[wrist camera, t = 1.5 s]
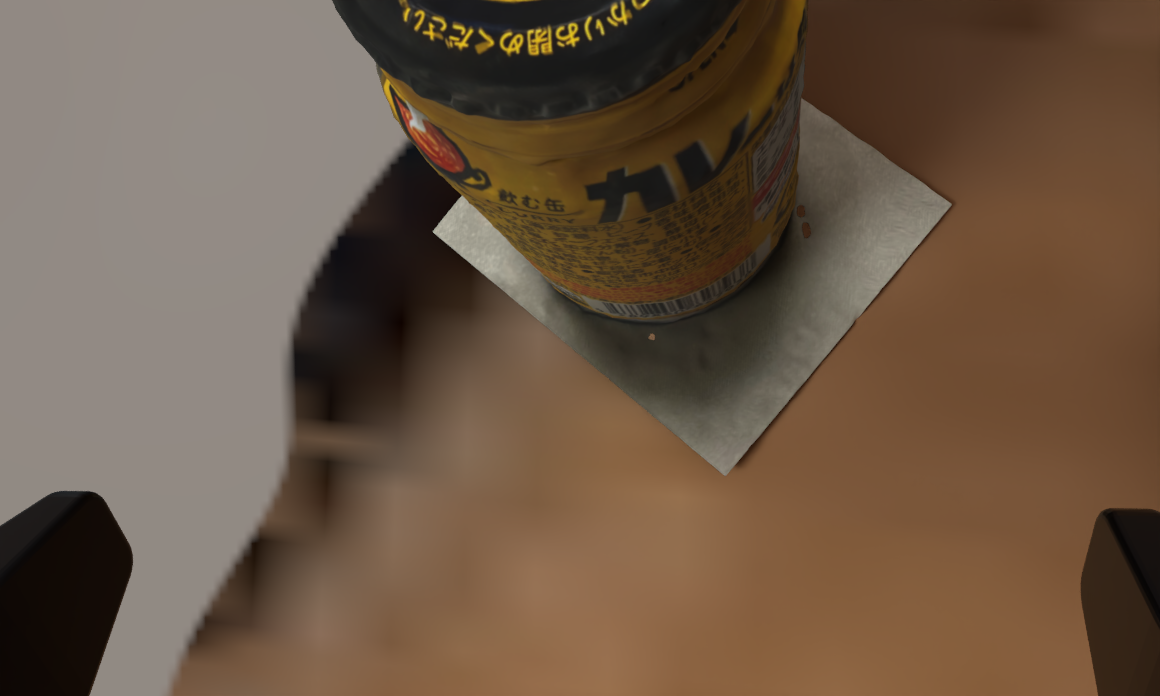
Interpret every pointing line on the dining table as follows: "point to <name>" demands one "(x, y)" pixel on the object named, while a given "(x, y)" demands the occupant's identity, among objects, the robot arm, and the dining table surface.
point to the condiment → (652, 189)
